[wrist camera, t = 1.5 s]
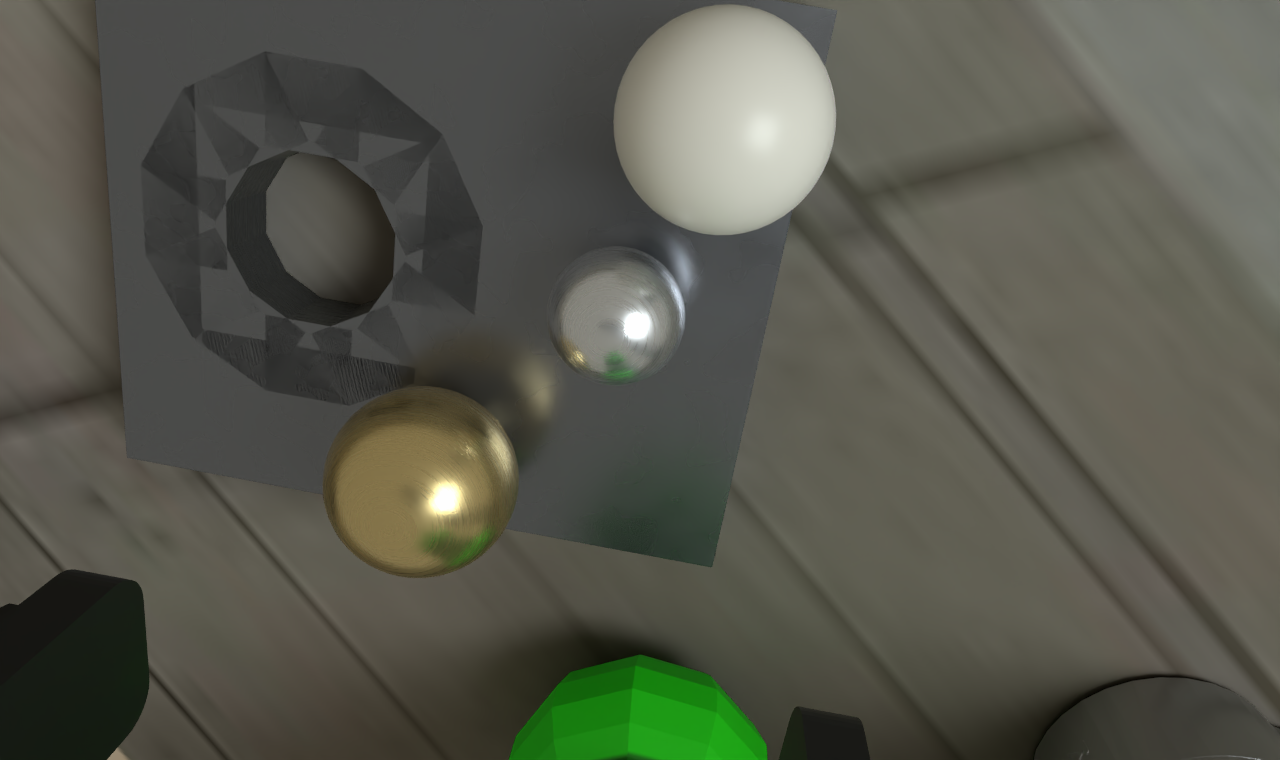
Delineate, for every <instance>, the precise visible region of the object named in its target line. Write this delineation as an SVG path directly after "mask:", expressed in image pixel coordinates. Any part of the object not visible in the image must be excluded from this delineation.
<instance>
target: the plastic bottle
mask: <svg viewBox="0 0 1280 760" xmlns="http://www.w3.org/2000/svg"><path fill="white" fill-rule="evenodd" d="M509 760H767V745H766V743H765V742H764V740H763V738H762V737H761V735H760V734H759V732H758V730H757V729H756V727H755V726H754V724H753V723H752V722H751V721H750V720H749V719H748V717H747V716H746V715H745V714H744V713H743V712H742V711H741V710H740V708H739V707H738V706H737V705H736V704H735V703H734V702H733V701H732V699H731V698H730V697H729V696H728V695H727V694H726V693H725V692H724V690H723V689H722V688H721V687H720V686H719V685H718V684H717V683H716V681H715V680H714V679H713V678H712V677H711V676H710V675H708V674H705V673H703V672H700V671H696V670H693V669H689V668H686V667H683V666H679V665H676V664H672V663H669V662H665V661H662V660H658V659H655V658H652V657H648V656H645V655H636V656H632V657H628V658H624V659H620V660H616V661H612V662H608V663H604V664H600V665H596V666H592V667H588V668H584V669H580V670H575V671H571V672H570V673H569V674H568V675H567V676H566V677H565V678H564V679H563V680H562V681H561V682H560V683H559V684H558V685H557V686H556V687H555V689H554V690H553V691H552V692H551V694H550V695H549V696H548V697H547V699H546V700H545V701H544V702H543V703H542V705H541V706H540V707H539V708H538V710H537V711H536V712H535V713H534V714H533V716H532V717H531V718H530V719H529V721H528V722H527V723H526V724H525V726H524V727H523V728H522V729H521V730H520V732H519V733H518V734H517V735H516V737H515V741H514V744H513V747H512V751H511V754H510V757H509Z"/></svg>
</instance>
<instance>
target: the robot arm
mask: <svg viewBox="0 0 1280 760" xmlns="http://www.w3.org/2000/svg"><path fill="white" fill-rule="evenodd" d="M148 690H149V667H148V654H147V640H146V627H145V613H144V600H143V593H142V590H141V587H140V586H139V584H138V583H137V582H135V581H133V580H128V579H123V578H117V577H112V576H107V575H101V574H96V573H91V572H85V571H80V570H67V571H64V572H62V573H60V574H58V575H57V576H55V577H54V578H53V579H51V580H50V581H49V582H48V583H46V584H45V585H44V586H42V587H41V588H40V589H39V590H37V591H36V592H35V593H33V594H32V595H31V596H30V597H28V598H27V599H26V600H25V601H23V602H22V603H21V604H19V605H15V604H10V603H9V604H7V605H5V606H3V607H0V760H107V759H108V758H109V756H110V755H111V754H112V753H113V752H114V751H115V750H116V748H117V747H118V746H119V745H120V744H121V743H122V742H123V740H124V739H125V738H126V737H127V736H128V734H129V733H130V732H131V730H132V729H133V727H134V726H135V724H136V722H137V721H138V719H139V717H140V715H141V713H142V710H143V708H144V705H145V702H146V699H147V695H148ZM779 760H870V757H869V752H868V747H867V742H866V737H865V732H864V728H863V725H862V722H861V720H860V719H859V718H857V717H852V716H846V715H841V714H835V713H830V712H825V711H819V710H814V709H809V708H803V707H796V708H795V709H794V710H793V713H792V715H791V718H790V721H789V725H788V728H787V732H786V736H785V739H784V743H783V747H782V750H781V754H780V757H779ZM1033 760H1280V729H1279V728H1276V727H1274V726H1272V725H1271V724H1270V723H1269V722H1268V721H1267V720H1266V719H1265V718H1264V717H1263V715H1262V714H1261V713H1260V712H1259V711H1258V710H1257V709H1256V708H1255V706H1254V705H1252V704H1251V703H1249V702H1248V701H1247V700H1245V699H1244V698H1242V697H1241V696H1239V695H1238V694H1236V693H1235V692H1232V691H1230V690H1227V689H1225V688H1222V687H1220V686H1218V685H1215V684H1213V683H1208V682H1203V681H1198V680H1193V679H1188V678H1164V677H1158V678H1150V679H1143V680H1136V681H1130V682H1127V683H1123V684H1120V685H1117V686H1113V687H1110V688H1107V689H1104V690H1102V691H1100V692H1098V693H1096V694H1094V695H1092V696H1090V697H1088V698H1086V699H1084V700H1082V701H1080V702H1079V703H1078V704H1076V705H1075V706H1074V707H1072V708H1071V709H1069V710H1068V711H1067V712H1065V713H1064V714H1063V715H1062V716H1061V717H1060V718H1059V719H1058V720H1057V721H1056V722H1055V723H1054V724H1053V725H1052V726H1051V727H1050V728H1049V730H1048V731H1047V732H1046V734H1045V735H1044V737H1043V739H1042V741H1041V742H1040V744H1039V746H1038V747H1037V749H1036V752H1035V756H1034V759H1033Z"/></svg>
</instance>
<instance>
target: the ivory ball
mask: <svg viewBox="0 0 1280 760" xmlns="http://www.w3.org/2000/svg"><path fill="white" fill-rule="evenodd" d="M613 124H614V139H615V144H616V150H617V154H618V157H619V160H620V163H621V166H622V168H623V170H624V173H625V175H626V177H627V179H628V180H629V182H630V184H631V185H632V187H633V189H634V190H635V191H636V193H637V194H638V195H639V196H640V198H641V199H642V200H643V201H644V202H645V203H646V204H647V205H648V206H649V207H650V208H651V209H652V210H653V211H655V212H656V213H657V214H659V215H660V216H661V217H663V218H664V219H666V220H668V221H670V222H671V223H673V224H675V225H677V226H679V227H682V228H685V229H687V230H690V231H694V232H698V233H702V234H710V235H734V234H741V233H746V232H750V231H753V230H757V229H759V228H762V227H764V226H766V225H769V224H771V223H773V222H775V221H776V220H778V219H780V218H781V217H783V216H784V215H786V214H787V213H788V212H790V211H791V210H792V209H794V208H795V207H796V206H797V205H798V204H799V203H800V202H801V201H802V200H803V199H804V198H805V197H806V196H807V195H808V193H809V192H810V191H811V189H812V188H813V187H814V186H815V184H816V182H817V181H818V179H819V177H820V176H821V174H822V172H823V170H824V168H825V166H826V163H827V161H828V159H829V156H830V152H831V149H832V146H833V141H834V135H835V129H836V107H835V98H834V93H833V88H832V84H831V81H830V78H829V76H828V73H827V70H826V68H825V66H824V64H823V62H822V60H821V59H820V57H819V55H818V54H817V52H816V51H815V49H814V48H813V47H812V45H811V44H810V43H809V42H808V41H807V40H806V39H805V37H804V36H803V35H802V34H801V33H800V32H799V31H797V30H796V29H795V28H794V27H792V26H791V25H790V24H788V23H787V22H785V21H784V20H782V19H780V18H779V17H777V16H775V15H773V14H771V13H768V12H766V11H763V10H761V9H757V8H753V7H749V6H743V5H733V4H726V5H713V6H707V7H702V8H698V9H695V10H692V11H689V12H687V13H684V14H682V15H680V16H678V17H676V18H674V19H672V20H671V21H669V22H668V23H666V24H665V25H664V26H662V27H661V28H659V29H658V30H657V31H656V32H655V33H654V34H653V35H651V36H650V37H649V38H648V39H647V40H646V41H645V43H644V44H643V45H642V46H641V47H640V48H639V50H638V51H637V52H636V54H635V55H634V57H633V58H632V60H631V61H630V63H629V65H628V67H627V69H626V71H625V73H624V75H623V77H622V80H621V83H620V86H619V89H618V92H617V97H616V102H615V107H614V120H613Z"/></svg>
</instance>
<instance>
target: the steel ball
mask: <svg viewBox="0 0 1280 760" xmlns="http://www.w3.org/2000/svg"><path fill="white" fill-rule="evenodd" d="M547 327H548V331H549V336H550V338H551V341H552V344H553V346H554V348H555V349H556V351H557V353H558V354H559V356H560V357H561V359H562V360H563V361H564V362H565V363H566V364H567V366H569V367H570V368H571V369H572V370H573V371H575V372H576V373H577V374H579V375H580V376H582V377H584V378H586V379H588V380H591V381H593V382H596V383H600V384H605V385H627V384H632V383H636V382H639V381H642V380H644V379H647V378H648V377H650V376H652V375H654V374H655V373H656V372H658V371H659V370H660V369H662V368H663V367H664V366H665V365H666V364H667V363H668V362H669V360H670V359H671V358H672V357H673V355H674V354H675V352H676V350H677V348H678V346H679V344H680V342H681V339H682V336H683V332H684V328H685V305H684V299H683V296H682V292H681V290H680V288H679V285H678V283H677V282H676V280H675V279H674V277H673V275H672V274H671V273H670V272H669V271H668V269H667V268H666V267H665V266H664V265H663V264H662V263H661V262H659V261H658V260H657V259H655V258H654V257H652V256H650V255H649V254H647V253H645V252H642V251H640V250H637V249H633V248H629V247H621V246H610V247H604V248H599V249H595V250H592V251H590V252H587V253H585V254H583V255H581V256H580V257H578V258H577V259H575V260H574V261H573V262H572V263H570V264H569V265H568V266H567V267H566V268H565V269H564V270H563V271H562V273H561V274H560V275H559V277H558V278H557V280H556V282H555V284H554V286H553V288H552V290H551V293H550V296H549V300H548V305H547Z"/></svg>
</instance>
